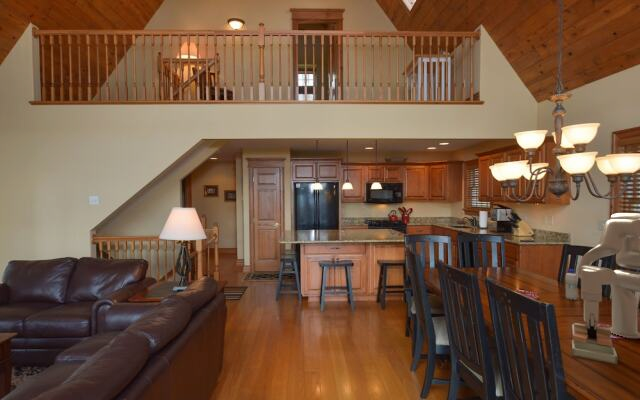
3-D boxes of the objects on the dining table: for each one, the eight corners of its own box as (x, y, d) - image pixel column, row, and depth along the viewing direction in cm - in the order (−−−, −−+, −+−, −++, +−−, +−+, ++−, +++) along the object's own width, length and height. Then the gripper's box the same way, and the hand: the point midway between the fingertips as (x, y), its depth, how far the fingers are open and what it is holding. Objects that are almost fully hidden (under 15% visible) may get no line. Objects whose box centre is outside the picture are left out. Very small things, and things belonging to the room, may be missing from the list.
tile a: (596, 339, 160) (596, 335, 159) (610, 342, 157) (610, 337, 157) (597, 343, 155) (597, 339, 155) (611, 346, 153) (611, 341, 153)
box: (572, 346, 162) (572, 339, 162) (614, 354, 154) (614, 347, 154) (572, 355, 153) (572, 348, 153) (617, 364, 145) (617, 357, 145)
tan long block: (574, 333, 166) (574, 322, 166) (609, 339, 159) (609, 328, 159) (574, 335, 164) (574, 324, 164) (610, 341, 157) (610, 330, 157)
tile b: (575, 335, 164) (574, 331, 164) (588, 339, 160) (588, 334, 160) (572, 339, 160) (572, 335, 160) (586, 343, 157) (586, 338, 157)
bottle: (565, 297, 237) (565, 267, 237) (578, 299, 233) (577, 268, 233) (564, 299, 232) (564, 269, 232) (577, 301, 228) (577, 270, 228)
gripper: (580, 291, 170) (580, 329, 170) (581, 299, 157) (582, 340, 157) (600, 293, 166) (600, 332, 166) (603, 302, 152) (603, 344, 153)
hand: (591, 336), depth 161 cm, fingers closed on tan long block, 2 cm apart
